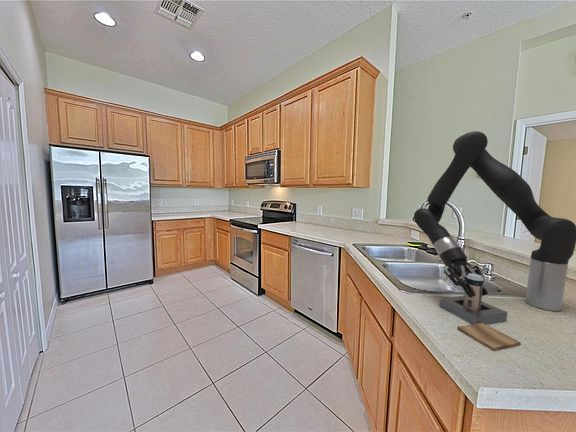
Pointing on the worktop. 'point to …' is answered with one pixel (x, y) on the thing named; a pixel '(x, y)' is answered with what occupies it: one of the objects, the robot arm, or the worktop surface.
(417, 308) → the worktop surface
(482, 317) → the metal collar
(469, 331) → the walnut coaster
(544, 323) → the worktop surface
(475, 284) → the beer can
